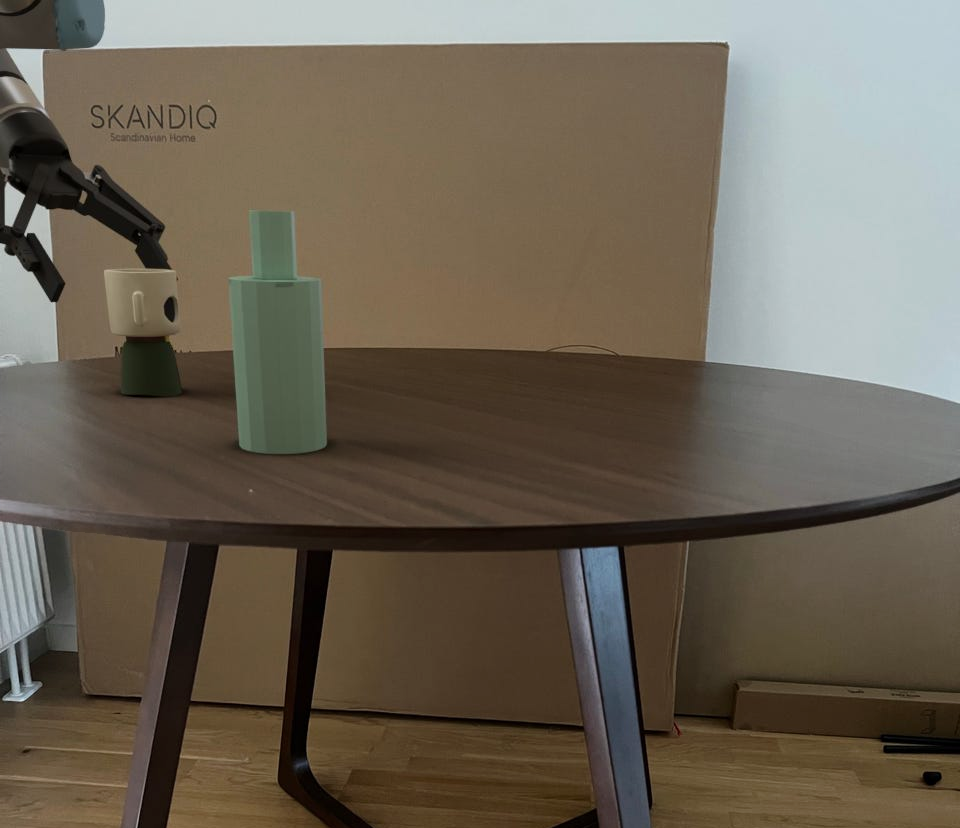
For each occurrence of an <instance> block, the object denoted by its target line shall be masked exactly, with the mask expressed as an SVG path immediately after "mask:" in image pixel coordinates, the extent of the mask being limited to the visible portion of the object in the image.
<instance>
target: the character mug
mask: <svg viewBox="0 0 960 828" xmlns="http://www.w3.org/2000/svg"><path fill="white" fill-rule="evenodd" d="M103 275H104V285H105V294H106V303H107V312H108V313H107V314H108V322H109V328H110V332H111V333H112V334H113V335H116V336H120V337H125V341H124V342H123V344H122V348H121V358H120V360H121V361H120V394H121V395H131V396H132V395H137V396H140V395H141V396H148V397H149V396H150V397H152V396H154V397H161V398H164V397H175V396H179V395H181V394H182V392H183V387H182V383H181V378H180V377H181V376H180V371H179V367H178V363H177V358H176V354H175V350H174V347H173V345H172V344H171V341H170V336H173V335H174V336H175V335H177V334H180V333H181V328H182V326H181V311H180V302H179V292H178V281H177V279H176V276H177V270H174V269H172V270H166V269H146V268H141V267H140V268H139V267H137V268H134V267H133V268H130V267H129V268H107V269H104V270H103Z"/></svg>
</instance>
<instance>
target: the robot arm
mask: <svg viewBox="0 0 960 828" xmlns="http://www.w3.org/2000/svg"><path fill="white" fill-rule="evenodd" d="M105 21H106V7H105V2H104V0H0V244H1V245H5V246H4V248H3V250H4V253H5V254H6V255H8V256H10V257H15V256H16V258H17V259H18V261H19V263H20V265H21V266H22V268H23V269H24V270H25V271H26V272H28V273H32V274H33V276H34V277H35V279H36V280H37V282H38V284H39V285H40V287H41V289H42V290H43V292H44V293H45V295H46V297H47V298H48V300H49V302H50V303H58V302H59V300H60V298H61V296H62V293H63V291H64V289H65V286H66V282H65V280H64V278H63V277H62V275H61V273H60V272H59V270H58V268H57V267H56V265H55V264H54V262H53V261H52V259H51V257H50V256H49V254H48V253H47V251H46V249H45V247H44V246H43V245H42V243H41V241H40V239H39V237H38V236H37V235H36V233H35V232H27V233H26V231H27V229H28V227H29V224H30V222H31V219H32V216H33V214H34V212H35V209H36V207H37V205H38V206H41V207H42V208H45V210H51V211H53V210H57V209H59V210H65V211H74V212H76V213H78V214H79V215H81V216H82V217H87V216H89V217H91V218H92V219H94V220H96V221H97V222H99V223H101V224H102V225H103V226H105V227H107V228H108V229H109V230H111V231H113V232H115V233H116V234H118V235H119V236H121V237H122V238H124V239H125V240H127V241H129V242H130V243H132V244H133V245H135V246H136V247H135V249H134V252H135V254H136V255H137V257H138V258H139V261H141V263H142V265H143V267H144V269H166V270H173V269H172V266H171V265H170V264H169V262H168V261H169V257H168V255H167V253H166V252H165V250H164V249H163V247H162V245H161V244H160V240H161V237H162V236H163V233H164V231H165V229H166V225H165V223H164V222H163V221H161V219H159V218H157V217H156V216H155V215H154V213H151V211H150V210H148V209H147V208H146V207H144V205H142V204H141V202H139V201H138V200H137V199H136V198H135V197H133V196H132V195H131V194H129V193H128V192H127V191H126V190H125V189H124V188H122V187H121V186H120V185H119V184H118V183H117V182H115V181H114V180H113V179H112V178H111V176H110V174H109V173H108V172H107V171H106V169H105V168H104V167H102V165H100V164H95V165H94V166H93V168H92V170H91V171H83V170H81V169H80V168H79V167H78V166H77V165H76V164H75V163H74V162H73V160H72V157H71V153H70V150H69V149H70V148H69V146H68V145H67V143H66V141H65V139H64V137H63V136H62V135H61V132H59V130H58V128H57V127H56V125H55V123H54V122H53V120H51V117H50V116H49V114H48V112H47V111H46V109H45V107H44V106H43V104H42V103H41V101H40V100H39V98H38V97H37V96H36V95H37V94H35V92H34V91H33V88H31V85H29V83H28V81H26V79H25V77H24V75H23V74H22V72H21V71H20V69H19V67H18V66H17V64H16V62H15V61H14V59H13V58H12V56H11V54H10V52H9V51H8V50H10V49H13V50H14V49H15V50H55V51H56V50H57V51H58V50H60V51H61V52H66V51H67V50H79V49H91V48H95V46H97V45H98V44H100V42H101V40H102V38H103V36H104V34H105V33H104V32H105V29H106V27H105ZM7 183H8V184H9V185H10V186H11V187H12V188H14V189H15V190H16V191H18V192H19V193H21V194H22V195H24V197H23V200H22V202H21V205H20V207H19V209H18V212H17V214H16V216H15V218H14V221H13V224H12V225H7V224H6V186H7ZM83 192H84V193H86V198H85V199H84V202H81V201H80V200H81V198H82V195H83ZM176 279H177V282H178V280H179V278H178V276H177V275H176Z"/></svg>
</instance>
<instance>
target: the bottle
mask: <svg viewBox="0 0 960 828" xmlns="http://www.w3.org/2000/svg"><path fill="white" fill-rule="evenodd" d="M295 217H296V216H295V211H294V210H292V211H291V210H261V209H259V210H258V209H257V210H256V209H255V210H253V209H250V210H248V218H249V219H248V220H249V235H250V236H249V237H250V253H251V268H252V275H237V276H230V277H228V278H227V280H228V294H229V295H228V298H229V310H230V311H229V313H230V326H231V328H230V329H231V340H232V356H233V371H234V386H235V402H236V414H237V415H236V417H237V431H238V443H239V444H238V446H239V447H240V448H241V449H242V450H244V451H247V452H250V453H256V454H261V455H263V454H264V455H298V454H306V453H313V452H317V451H319V450H323V449H325V447H326V446H327V445H328V436H327V434H328V433H327V408H326V407H327V405H326V376H325V349H324V346H325V345H324V344H325V343H324V321H323V317H324V315H323V292H322V291H323V289H322V288H323V287H322V286H323V285H322V279H321V278H318V277H310V276H299V275H298V266H297V242H296V240H297V239H296V238H297V237H296V219H295Z"/></svg>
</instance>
